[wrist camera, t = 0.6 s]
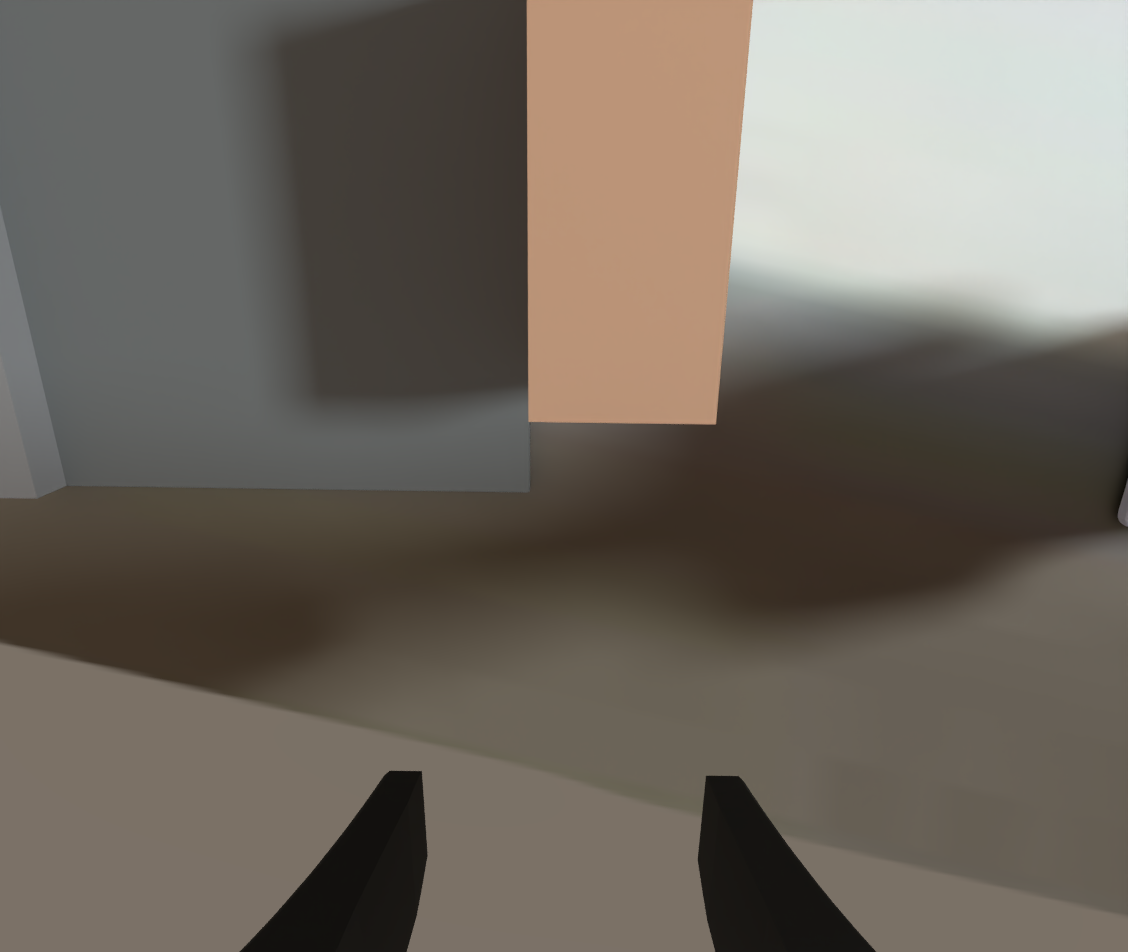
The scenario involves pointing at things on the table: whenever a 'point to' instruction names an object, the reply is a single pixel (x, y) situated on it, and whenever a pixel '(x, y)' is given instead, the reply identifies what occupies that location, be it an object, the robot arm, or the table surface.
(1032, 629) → the table surface
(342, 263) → the mat
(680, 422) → the terracotta block
